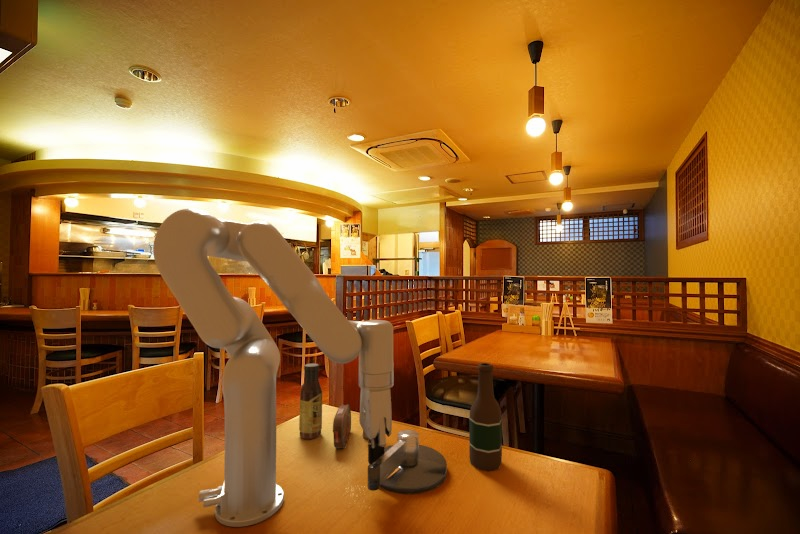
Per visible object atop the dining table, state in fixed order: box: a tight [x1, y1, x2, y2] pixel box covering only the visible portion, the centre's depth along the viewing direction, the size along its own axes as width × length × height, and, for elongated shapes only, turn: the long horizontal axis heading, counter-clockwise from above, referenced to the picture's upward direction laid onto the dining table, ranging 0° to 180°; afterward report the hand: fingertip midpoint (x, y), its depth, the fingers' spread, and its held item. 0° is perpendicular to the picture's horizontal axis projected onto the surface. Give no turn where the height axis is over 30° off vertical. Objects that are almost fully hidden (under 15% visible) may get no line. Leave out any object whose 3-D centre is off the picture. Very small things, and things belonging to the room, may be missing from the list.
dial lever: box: [367, 429, 420, 492], centre depth 78 cm, size 19×5×6 cm, turn 152°
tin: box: [332, 404, 352, 449], centre depth 99 cm, size 15×3×8 cm, turn 179°
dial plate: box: [380, 444, 448, 495], centre depth 84 cm, size 18×18×2 cm
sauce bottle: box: [298, 363, 323, 440], centre depth 103 cm, size 6×6×20 cm
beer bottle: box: [468, 362, 503, 472], centre depth 88 cm, size 8×8×24 cm
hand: (376, 463), depth 77 cm, fingers closed
